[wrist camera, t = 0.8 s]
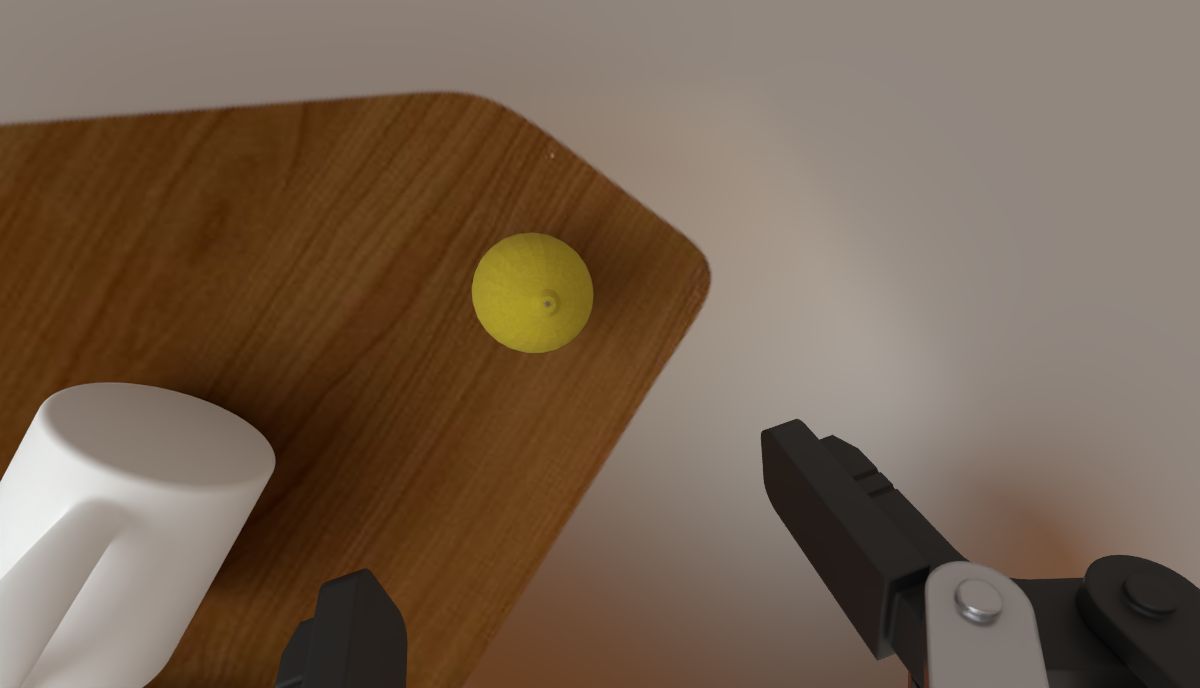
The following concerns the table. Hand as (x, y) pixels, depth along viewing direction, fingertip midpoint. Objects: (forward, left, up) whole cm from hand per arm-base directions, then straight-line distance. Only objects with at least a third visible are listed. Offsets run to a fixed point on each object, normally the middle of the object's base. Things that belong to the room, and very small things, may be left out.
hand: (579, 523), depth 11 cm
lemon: (0, +3, -20) cm, 21 cm away
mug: (-7, -16, -20) cm, 27 cm away
